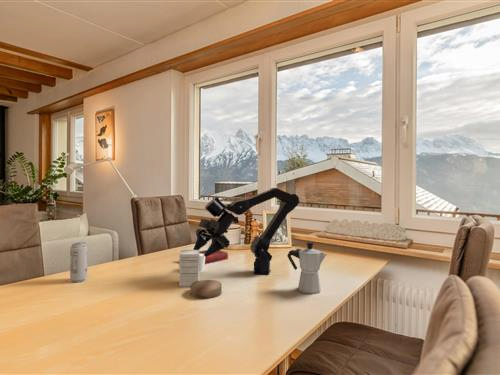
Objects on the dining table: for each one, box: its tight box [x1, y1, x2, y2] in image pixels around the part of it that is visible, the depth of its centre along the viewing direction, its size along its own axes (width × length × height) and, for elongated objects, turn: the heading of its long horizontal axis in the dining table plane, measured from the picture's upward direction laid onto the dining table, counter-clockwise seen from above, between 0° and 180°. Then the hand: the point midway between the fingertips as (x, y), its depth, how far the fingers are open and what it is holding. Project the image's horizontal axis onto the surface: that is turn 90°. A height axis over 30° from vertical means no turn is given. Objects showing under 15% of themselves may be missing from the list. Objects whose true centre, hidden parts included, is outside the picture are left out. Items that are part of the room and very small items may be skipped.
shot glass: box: [199, 253, 206, 273], centre depth 141 cm, size 7×7×7 cm
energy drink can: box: [69, 241, 88, 283], centre depth 125 cm, size 6×6×15 cm
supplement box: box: [178, 249, 201, 288], centre depth 123 cm, size 7×7×13 cm
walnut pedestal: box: [190, 279, 223, 300], centre depth 113 cm, size 11×11×3 cm
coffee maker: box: [286, 241, 328, 295], centre depth 117 cm, size 15×9×18 cm, turn 71°
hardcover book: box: [200, 249, 229, 265], centre depth 159 cm, size 12×21×4 cm, turn 136°
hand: (199, 253), depth 125 cm, fingers open, 9 cm apart
